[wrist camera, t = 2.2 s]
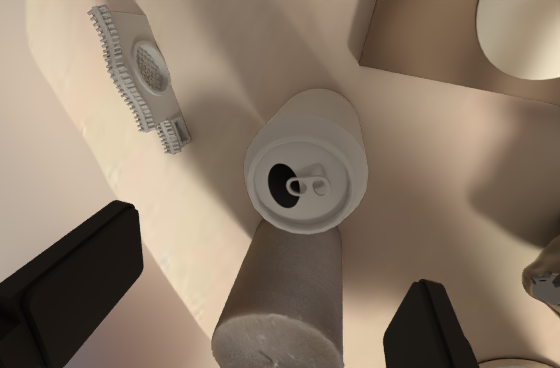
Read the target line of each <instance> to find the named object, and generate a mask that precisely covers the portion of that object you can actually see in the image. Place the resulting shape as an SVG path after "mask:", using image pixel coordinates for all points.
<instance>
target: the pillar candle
mask: <svg viewBox="0 0 560 368" xmlns="http://www.w3.org/2000/svg"><path fill="white" fill-rule="evenodd" d="M342 309H343V308H342V244H341V237H340V234H339V232H338V230H337V228H336V227H333V228H331V229H329V230H327V231H324V232H319V233H313V234H299V233H291V232H289V231H286V230H283V229H280V228H277V227H276V226H274V225H273V224H271V223H270V222H268V221H267V220H265V219H263V220H262V221H261V222H260V224H259V226H258V228H257V230H256V233H255V235H254V238H253V240H252V242H251V244H250V247H249V249H248V252H247V254H246V256H245V258H244V260H243V263H242V265H241V268H240V270H239V273H238V275H237V278H236V280H235V282H234V285H233V287H232V289H231V292H230V294H229V296H228V299H227V301H226V304H225V306H224V308H223V311H222V313H221V316H220V318H219V321H218V323H217V325H216V328H215V330H214V333H213V336H212V351H213V356H214V357H215V359H216V361H217V362H218V364H219V366H220V368H344V363H343V312H342Z"/></svg>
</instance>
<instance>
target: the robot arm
mask: <svg viewBox="0 0 560 368" xmlns="http://www.w3.org/2000/svg"><path fill="white" fill-rule="evenodd" d="M142 271H143V254H142V244H141V233H140V223H139V213H138V210H136V209H135V206H134V205H133V204H130V203H126V202H122V201H119V200H115V201H112V202H111V203H109V204H108V205H107V206H105V207H104V208H102V209H101V210H100V211H98V212H97V213H96V214H94V215H93V216H92V217H90V218H89V219H87V220H86V221H85V222H83V223H82V224H81V225H79V226H78V227H76V228H75V229H74V230H72V231H71V232H70V233H68V234H67V235H65V236H64V237H63V238H61V239H60V240H59V241H57V242H56V243H54V244H53V245H52V246H50V247H49V248H48V249H46V250H45V251H44V252H42V253H41V254H39V255H38V256H37V257H35V258H34V259H33V260H31V261H30V262H28V263H27V264H26V265H24V266H23V267H22V268H20V269H19V270H17V271H16V272H15V273H13V274H12V275H11V276H9V277H8V278H6V279H5V280H4V281H3V282H1V283H0V368H63V367H64V366H65V365H66V364H67V363H68V362H69V360H70V359H71V358H72V357H73V356H74V354H75V353H76V352H77V351H78V350H79V348H80V347H81V346H82V345H83V343H84V342H85V341H86V340H87V339H88V337H89V336H90V335H91V334H92V333H93V331H94V330H95V329H96V328H97V327H98V325H99V324H100V323H101V322H102V321H103V319H104V318H105V317H106V316H107V315H108V313H109V312H110V311H111V310H112V309H113V307H114V306H115V305H116V304H117V303H118V301H119V300H120V299H121V298H122V297H123V296H124V294H125V293H126V292H127V291H128V289H129V288H130V287H131V286H132V285H133V284H134V282H135V281H136V280H137V279H138V278H139V276H140V274H141V273H142ZM383 346H384V354H385V361H386V368H553V367H551V366H549V365H546V364H543V363H539V362H535V361H530V360H523V359H499V360H493V361H488V362H484V363H481V364H478V363H477V360H476V358H475V355H474V353H473V351H472V348H471V346H470V344H469V342H468V340H467V339H466V338H465V337H464V334H463V332H462V329H461V327H460V324H459V322H458V320H457V317H456V315H455V312H454V310H453V307H452V305H451V302H450V300H449V298H448V295H447V293H446V290H445V288H444V286H443V285H442V284H441V283H437V282H433V281H429V280H425V279H421V280H419V282H414V283H413V284H412V285H411V287H410V289H409V290H408V292H407V294H406V296H405V298H404V299H403V301H402V303H401V305H400V306H399V308H398V310H397V312H396V314H395V315H394V317H393V319H392V321H391V322H390V324H389V326H388V328H387V330H386V331H385V333H384V338H383Z"/></svg>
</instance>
